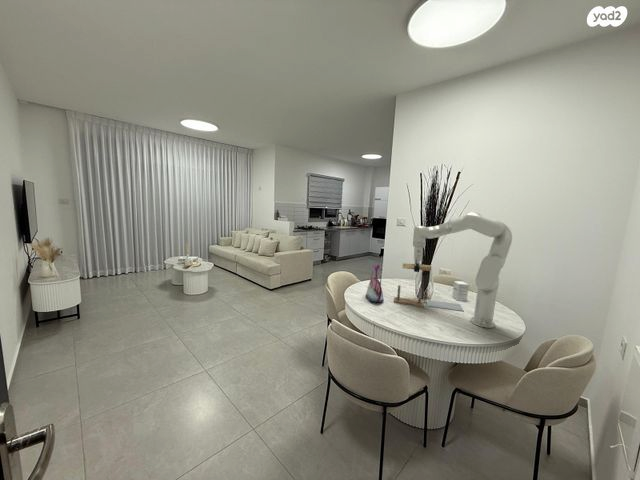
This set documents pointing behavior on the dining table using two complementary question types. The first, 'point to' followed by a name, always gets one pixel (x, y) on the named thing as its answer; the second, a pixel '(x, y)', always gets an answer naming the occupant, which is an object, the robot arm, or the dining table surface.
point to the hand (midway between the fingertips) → (416, 270)
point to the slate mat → (444, 305)
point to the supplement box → (460, 290)
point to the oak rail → (422, 267)
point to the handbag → (375, 288)
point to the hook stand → (409, 301)
